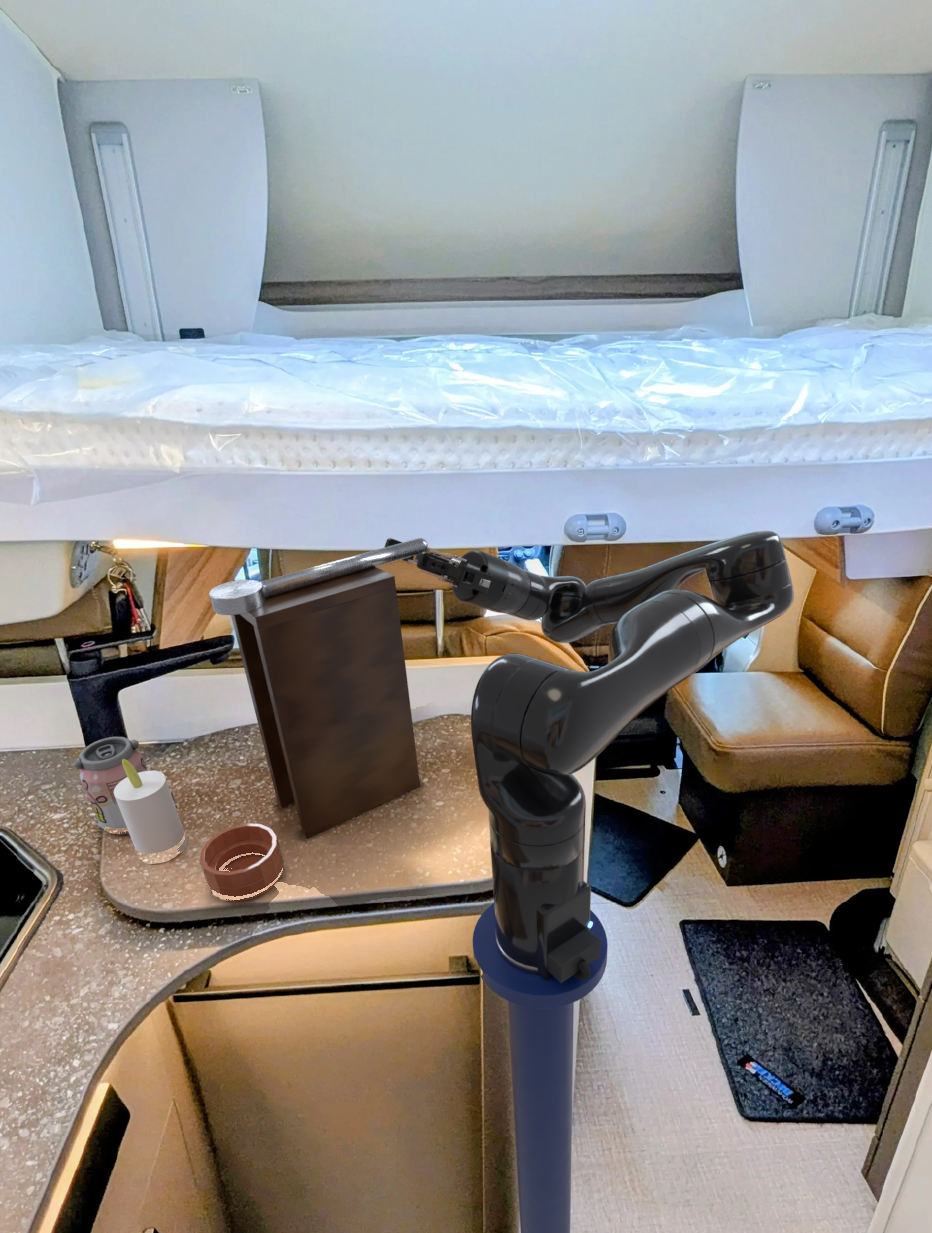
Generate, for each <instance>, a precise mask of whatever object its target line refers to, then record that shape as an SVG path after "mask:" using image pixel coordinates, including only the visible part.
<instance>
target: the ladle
mask: <svg viewBox="0 0 932 1233" xmlns="http://www.w3.org/2000/svg"><path fill="white" fill-rule="evenodd" d="M402 542H403V543H399V544H396V545H392V546H388V547H385V546H384V547H385V548H384V547H381V548H378V549H373V550H371V551H367V552H363V553H360V554H359V553H358V554H356V555H352V556H348V557H345V558H341V559H337V560H334V561H331V562H330V561H329V562H326V563H322V564H319V565H315V566H312V567H309V568H305V569H301V570H297V571H293V572H290V573H286V574H282V575H280V576H275V577H271V578H269V579H268V578H267V579H264V580H261V581H259V580H255V579H237V580H232V581H228V582H224V583H221V584H219V585H216V586H214V587H213V588H211V589H210V590H209V593H208V596H209V600H210V603H211V608H212V611H213V612H214V613H215V614H217V615H221V616H231V615H237V614H243V613H247V612H251V611H254V610H256V609H258V608H260V607H261V606H263V605H264V604H265V602H266V599H265V598H268V597H272V596H275V595H279V594H282V593H286V592H289V591H293V590H296V589H300V588H303V587H307V586H310V585H314V584H317V583H321V582H324V581H328V580H331V579H335V578H338V577H341V576H345V575H348V574H352V573H355V572H359V571H362V570H366V569H369V568H373V567H379V566H383V565H387V564H390V563H394V562H397V561H400V560H402V559H404V558H408V557H411V556H414V557H416V555H418V554H421V553H422V552H425V551H426V550H427V548H428V547H429V544H428V541H427V540H426V538H422V537H418V538H415V539H410V540H406V541H402Z"/></svg>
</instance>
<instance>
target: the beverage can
mask: <svg viewBox="0 0 932 1233" xmlns="http://www.w3.org/2000/svg"><path fill="white" fill-rule="evenodd" d="M139 745H140V742H139V740H136V739H135V738H134V739H132V740H130V739H129V738H128V737H124V736H109V737H105V738H102V739H98V740H97V741H93V742H92V743H90V744H89V745H87V746H86V747H84V748H83V749H82V750H81V752H80V753H79V755H78V758H77V759H74V762H73V764H72V765H73V767H74V768H76V770H79V779H80V782H81V784H82V786H83V789H84V791H85V794H86V796H87V798H88V801H89V803H90V805H91V809H92V810H93V813H94V815H95V817H96V820H97V822H98V825H99V827H100V828H101V829H102V830H103V829H104V828H105V827H111V828H126V827H127V826H126V824H125V821H124V819H123V816H122V814H121V811H120V809H119V806H118V804H117V801H116V798H115V796H114V789H115V787H116V786H117V784H118V783H120V782H121V781H122V780H123V779H125V778H127V775H126V772H125V770H124V767H123V764H122V759H126V760H127V761H129V762H130V763H131V764H132V766H133V767H134V768H135V770H136V771H137V773H139V772H143V771H149V770H148V768H147V764H146V762H145V759H144V757H143V754H142V753H141V752H140V750H138V749H139ZM103 831H104V832H105V830H103ZM120 834H121V832H120ZM122 834H127V835H130V834H129V832H128V831H126V833H125V832H122Z"/></svg>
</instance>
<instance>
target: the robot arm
mask: <svg viewBox="0 0 932 1233" xmlns="http://www.w3.org/2000/svg"><path fill="white" fill-rule="evenodd" d="M403 542H404V541H400V540H398V539H394V538H392V537H388V538H387V539H386V540H385V543H384V547H383V548H385V547H388V546H392V545H396V544H399V543H403ZM401 560H402V562H405V564H411V565H413V566H416V568H417V569H418V570H419V571H420V572H421V573H422V572H423V573H425V574H426V575H431V576H433V577H436V578H437V580H438V581H441V582H444V583H446V584H448V585H450V586H451V588H452V593H453V595H454V596H455V598H456V599H457V600H458V601H460V602H462V603H464V604H468V605H471V606H473V607H478V608H480V609H483V610H488V611H490V612H493V613H499V614H505V615H508V616H511V617H515V618H518V619H520V620H524V621H528V622H529V621H531V622H533V621H538V620H539V619H541V622H540V624H541V626H540V627H541V632H542V634H543V636H544V637H545V638H547V640H549V641H551V642H553V643H555V644H556V643H557V644H570V643H574V642H577V641H580V640H582V639H583V638H585V637H588V636H589V635H591V634H593V633H594V632H597V631H598V630H600V629H603V628H605V627H607V626H612V625H614V626H613V629H612V631H611V634H610V637H609V640H608V650H607V655H608V656H607V658H608V663H606V664H605V665H603V666H602V667H599V668H597V669H594V670H590V671H578V670H575V669H571V668H568V667H564V666H562V665H558V664H555V663H552V662H549V661H546V660H542V659H539V658H537V657H534V656H530V655H527V654H522V653H517V652H516V653H506V654H503V655H500V656H498V657H497V658H496V659H493V661H491V662H490V663H489V664H488V665H487V667H486V668H485V669H484V670H483V672H482V674H480V675H481V676H480V677H479V679H478V681H477V683H476V686H475V689H474V693H473V697H472V702H471V710H470V711H471V712H470V731H471V740H472V742H471V743H472V748H473V749H472V750H473V755H474V756H473V757H474V762H475V763H474V764H475V770H476V779H477V786H478V793H479V795H480V797H481V798H480V799H481V800H482V802H483V804H484V805H485V807H486V808H487V812H488V825H489V826H488V827H489V843H490V844H489V847H490V859H491V860H490V861H491V862H490V863H491V876H492V888H493V889H492V891H493V892H492V893H493V903H494V909H495V922H496V930H495V937H496V945H497V949H498V951H499V953H500V955H501V956H502V957H503V958H504V960H505V961H506V962H507V963H509V964H510V965H511V966H513V967H514V968H516V969H518V970H521V971H523V972H526V973H531V974H537V975H539V976H540V977H541V978H542V979H543V980H545V981H547V980H549V979H551V978H552V977H553V976H554V977H555V978H556V979H557V980H558V981H559V982H560V983H563V982H564V981H565V980H567V979H568V978H570V977H571V976H573V975H574V977H575V978H576V979H580V980H588V979H589V978H590V973H591V972H590V968H589V966H588V964H590V963H591V962H593V961H594V960H596V959H597V958H598V957H600V939H599V938H597V937H596V936H595V935H594V934H593V933H592V932H591V931H590V928H591V927H592V925H593V922H591V921H590V910H591V905H592V904H591V902H592V897H591V896H592V887H591V885H590V884H588V883H587V882H586V881H585V844H586V842H585V841H586V837H585V836H586V808H587V806H586V805H587V803H586V802H587V801H586V795H585V791H584V788H583V786H582V785H581V783H580V782H579V780H578V779H577V778H576V777H575V775H573V774H575V773H577V772H578V771H580V770H582V769H584V767H586V766H588V765H589V764H590V763H591V762H592V761H594V759H596V758H597V757H598V756H599V755H600V754H601V753H602V752H603V751H604V750H605V749H606V748H607V747H608V746H609V745H610V744H611V743H612V742H613V741H614V740H615V739H616V738H617V737H618V736H619V735H620V734H621V733H622V732H623V731H624V730H625V729H627V727H628V726H629V725H630V724H631V723H632V722H633V721H634V720H635V719H636V718H638V716H639V715H640V714H642V713H643V712H644V711H645V710H646V709H648V708H649V707H651V705H653V704H654V703H655V702H657V701H658V700H659V699H660V698H662V697H663V696H664V695H665V694H666V693H668V692H670V690H672V689H673V688H675V687H676V686H679V684H681V683H683V682H684V681H686V680H687V679H688V678H690V677H691V676H693V675H694V674H695V673H696V672H698V671H699V670H701V669H702V668H704V666H706V665H707V664H708V663H709V662H710V661H711V660H713V659H714V658H716V656H718V655H719V654H720V653H722V652H723V651H724V650H726V649H727V648H729V647H730V646H731V645H733V644H734V643H736V642H737V641H739V640H741V639H742V638H744V637H745V636H747V635H749V634H752V633H753V632H754V631H756V630H758V629H760V628H762V627H764V626H766V625H768V624H769V623H771V622H774V621H775V620H776V619H779V618H780V617H781V616H782V615H784V614H785V613H786V612H788V610H789V609H790V607H792V605H793V603H794V598H795V597H794V596H795V592H794V591H795V590H794V585H793V581H792V576H791V573H790V568H789V563H788V560H787V558H786V552H785V548H784V545H783V542H782V538H781V537H780V535H779V534H778V533H777V532H775V531H772V530H755V531H750V532H749V531H748V532H746V533H745V532H744V533H741V534H737V535H733V536H731V537H727V538H724V539H721V540H717V541H716V542H713V543H709V544H707V545H704V546H701V547H698V548H695V549H692V550H688V551H686V552H683V553H681V554H678V555H675V556H672V557H670V558H667V559H664V560H661V561H659V562H656V563H654V564H651V565H649V566H646V567H643V568H640V569H637V570H634V571H633V570H632V571H630V572H625V573H621V574H616V575H611V576H607V577H603V578H599V579H595V580H593V581H591V582H590V583H588V584H587V585H586V583H585V582H584V580H582V579H581V578H579V577H577V576H570V575H565V576H564V575H563V576H546V575H540V574H536V573H534V572H532V571H528V570H526V569H523V568H521V567H519V566H518V565H516V564H514V563H512V562H511V561H508V560H505V559H503V558H500V557H497V556H495V555H492V554H490V553H487V552H485V551H482V550H480V549H472V550H469V551H467V552H465V553H464V554H463V555H462V556H458V555H455V554H453V553H450V552H446V553H445V552H443V551H440V550H437V549H435V548H432V547H430V546H428V548H427V550H426V551H425V552H422V553H421V554H418V555H415V556H411V557H408V558H404V559H401ZM702 572H705V576H706V579H707V583H708V587H709V591H710V595H711V597H708V596H706V595H704V594H701V593H699V592H696V591H693V590H692V591H691V590H688V589H678V588H679V587H680V586H681V585H682V584H683V583H685V581H687V580H688V579H689V578H691V577H693V576H694V575H697V574H699V573H702Z"/></svg>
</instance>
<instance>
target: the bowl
mask: <svg viewBox="0 0 932 1233" xmlns="http://www.w3.org/2000/svg"><path fill="white" fill-rule="evenodd" d="M281 850H282V849H281V847H280V843H279V839H278V836H277V834H276V833H275V831H274V830H273V829H272V828H271V827H269V826H266V825H264V824H262V823H252V822H251V823H250V822H248V823H240V824H236V825H232V826H230V827H227V828H225V829H222V830H220V831H218V832H217V833H216V834H214V835H213V836H211V837H210V838H209V839H208V840H207V841H206V843H205V844H204V845H203V847H202V848H201V850H200V854H199V860H198V861H199V864H200V867H201V870H202V873H203V876H204V878H205V882H206V881H207V882H206V884H207V883H208V885H209V887H210V889H211V890H214V891H216V892H217V893H220V894H222V895H228V896H234V897H236V896H243V895H247V894H252V893H254V892H257V891H258V890H261V889H263V888H265V887H266V886H268V885H269V884H270V883H272V882H273V881H274V880H275V879H276V878H277V877H278V875H279V873H280V872H281V870H282V868H283V871H282V873H281V875H280V877H279V878H278V880H277V881H276V882H275V883H274V884H273V885H272V886H270V887H269V888H268V889H267V890H265V891H263V892H261V893H259V894H257V895H255V896H253V897H249V898H244V899H240V900H234V901H233V900H232V901H230V900H229V899H228V900H229V901H228V902H236V903H237V902H242V901H247V900H252V899H255V898H257V897H258V896H261V895H263V894H265V893H267V892H269V890H271V889H272V888H273V887H274V886H275V885H276V884H277V883H278V882H279V880H280V879H281V877H282V875H283V873H284V869H285V868H284V859H283V854H282V851H281ZM252 852H253V853H260V854H263V855H265V856H262V855H255V854H251V855H246V856H241V857H239V858H237V859H235V860H233V861H231V862H230V863H229V864H228V865H226V866H225V868H226V869H227V868H228V869H227V870H229V871H230V872H229V871H219V868H220V867H221V866H222V865H223V864H224V863H225V862H227V861H228V860H229V859H231V858H233V857H235V856H238V855H241V854H246V853H252ZM225 868H224V869H225ZM231 868H232V869H231ZM224 869H223V870H224ZM226 869H225V870H226ZM208 885H207V886H208ZM209 887H208V888H209ZM210 889H209V890H210ZM226 900H227V899H226Z"/></svg>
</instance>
